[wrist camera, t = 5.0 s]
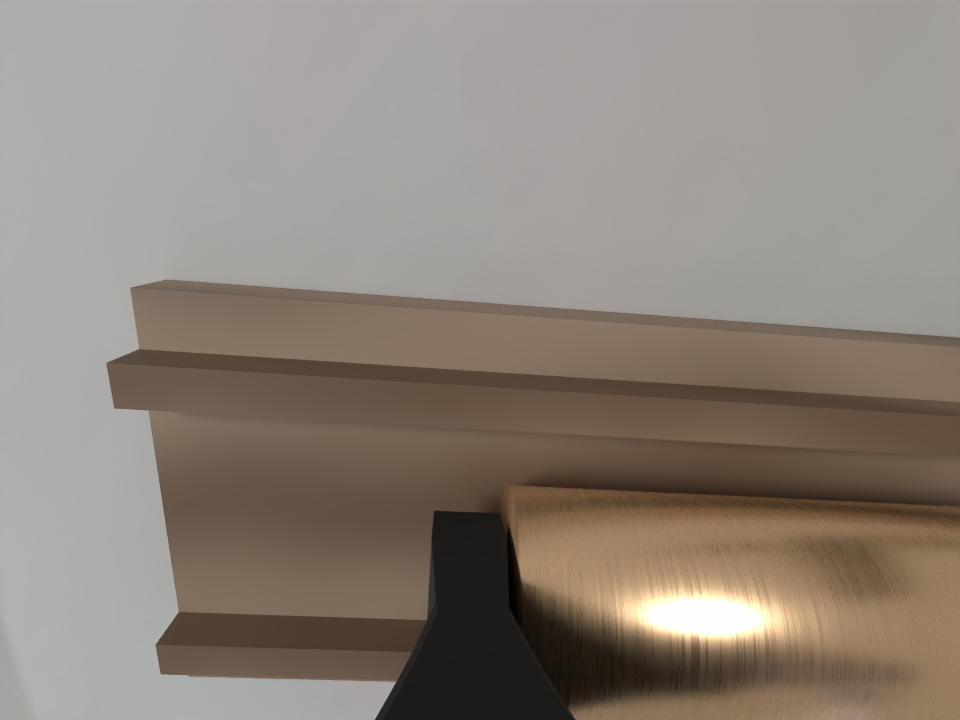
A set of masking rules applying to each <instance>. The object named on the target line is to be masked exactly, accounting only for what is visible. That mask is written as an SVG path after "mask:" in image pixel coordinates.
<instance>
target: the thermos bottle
mask: <svg viewBox="0 0 960 720" xmlns="http://www.w3.org/2000/svg"><path fill="white" fill-rule="evenodd" d="M498 513H500V516H501V519H502V522H503V526H504V530H505V534H506V539H507V561H508V588H509V608H510V610H511V612H512V614H513V616H514V618H515V620H516V622H517V623H518V625H519V627H520V629H521V631H522V633H523V635H524V636H525V638H526V640H527V642H528V643H529V645H530V647H531V649H532V650H533V652H534V654H535V656H536V657H537V659H538V661H539V663H540V664H541V666H542V668H543V669H544V671H545V673H546V674H547V676H548V678H549V679H550V681H551V682H552V684H553V686H554V687H555V689H556V690H557V692H558V694H559V695H560V697H561V698H562V700H563V701H564V703H565V704H566V706H567V707H568V709H569V710H570V712H571V713H572V715H573V716H574V718H575V719H576V720H960V507H958V506H937V505H916V504H895V503H874V502H853V501H831V500H810V499H789V498H768V497H747V496H726V495H705V494H683V493H662V492H641V491H620V490H599V489H578V488H557V487H535V486H514V485H507V486H505V488H504V490H503V492H502V496H501V500H500V504H499V510H498Z"/></svg>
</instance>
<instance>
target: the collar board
mask: <svg viewBox="0 0 960 720" xmlns="http://www.w3.org/2000/svg"><path fill="white" fill-rule="evenodd" d="M130 289H131V296H132V302H133V309H134V316H135V322H136V329H137V336H138V342H139V350H136V351H134V352H132V353H129V354H127V355H124V356H122V357H120V358H117V359H115V360H113V361H110V362H108V363H107V369H108V375H109V381H110V386H111V392H112V398H113V403H114V408H117V409H135V410H149V416H150V422H151V429H152V436H153V442H154V449H155V455H156V462H157V469H158V475H159V482H160V489H161V495H162V502H163V509H164V515H165V522H166V529H167V535H168V542H169V549H170V555H171V562H172V569H173V575H174V582H175V588H176V595H177V602H178V608H179V613H178V614H177V616H176V617H175V618H174V620H173V621H172V623H171V624H170V625H169V627H168V628H167V630H166V631H165V632H164V634H163V635H162V637H161V638H160V639H159V641H158V642H157V644H156V649H157V655H158V661H159V667H160V672H161V674H169V675H189V677H230V678H270V679H311V680H352V681H392V682H397V680H398V678H399V676H400V674H401V673H402V671H403V669H404V667H405V665H406V663H407V661H408V659H409V657H410V655H411V653H412V651H413V649H414V647H415V645H416V643H417V641H418V639H419V637H420V634H421V632H422V630H423V628H424V626H425V624H426V622H427V613H428V594H429V575H430V556H431V537H432V527H433V518H434V511H457V512H482V513H498V510H499V504H500V500H501V496H502V492H503V490H504V488H505V486H507V485H514V486H535V487H557V488H578V489H599V490H620V491H641V492H662V493H683V494H705V495H726V496H747V497H768V498H789V499H810V500H831V501H853V502H874V503H895V504H916V505H937V506H958V507H960V338H954V337H941V336H927V335H913V334H900V333H886V332H872V331H859V330H845V329H832V328H818V327H804V326H791V325H777V324H763V323H750V322H736V321H722V320H709V319H695V318H682V317H668V316H654V315H641V314H627V313H613V312H600V311H586V310H572V309H559V308H545V307H532V306H518V305H504V304H491V303H477V302H463V301H450V300H436V299H422V298H409V297H395V296H382V295H368V294H354V293H341V292H327V291H313V290H300V289H286V288H272V287H259V286H245V285H232V284H218V283H204V282H191V281H177V280H163V281H158V282H154V283H149V284H145V285H141V286H136V287H132V288H130Z"/></svg>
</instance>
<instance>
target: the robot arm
mask: <svg viewBox="0 0 960 720" xmlns="http://www.w3.org/2000/svg"><path fill="white" fill-rule="evenodd" d="M375 720H576V719H575V718H574V716H573V715H572V713H571V712H570V710H569V709H568V707H567V706H566V704H565V703H564V701H563V700H562V698H561V697H560V695H559V694H558V692H557V690H556V689H555V687H554V686H553V684H552V682H551V681H550V679H549V678H548V676H547V674H546V673H545V671H544V669H543V668H542V666H541V664H540V663H539V661H538V659H537V657H536V656H535V654H534V652H533V650H532V649H531V647H530V645H529V643H528V642H527V640H526V638H525V636H524V635H523V633H522V631H521V629H520V627H519V625H518V623H517V622H516V620H515V618H514V616H513V614H512V612H511V610H510V608H509V588H508V561H507V539H506V534H505V530H504V526H503V522H502V519H501V516H500V513H482V512H457V511H434V518H433V527H432V537H431V556H430V575H429V594H428V613H427V622H426V624H425V626H424V628H423V630H422V632H421V634H420V637H419V639H418V641H417V643H416V645H415V647H414V649H413V651H412V653H411V655H410V657H409V659H408V661H407V663H406V665H405V667H404V669H403V671H402V673H401V674H400V676H399V678H398V680H397V682H396V684H395V685H394V687H393V689H392V691H391V693H390V694H389V696H388V698H387V700H386V701H385V703H384V705H383V707H382V709H381V710H380V712H379V714H378V716H377V717H376V719H375Z"/></svg>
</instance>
